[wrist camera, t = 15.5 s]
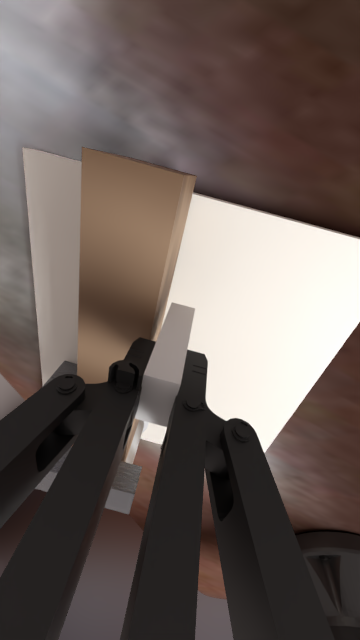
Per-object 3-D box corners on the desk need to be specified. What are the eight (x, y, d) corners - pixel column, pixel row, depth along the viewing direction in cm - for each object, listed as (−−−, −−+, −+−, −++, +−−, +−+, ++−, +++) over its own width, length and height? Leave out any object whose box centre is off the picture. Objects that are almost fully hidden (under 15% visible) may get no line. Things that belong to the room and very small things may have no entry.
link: (140, 440, 28) (112, 533, 21) (96, 428, 28) (52, 516, 21) (206, 178, 14) (193, 179, 7) (121, 155, 14) (21, 132, 7)
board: (251, 457, 30) (252, 471, 29) (52, 402, 30) (43, 413, 29) (394, 246, 17) (411, 253, 15) (37, 149, 17) (19, 147, 15)
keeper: (160, 396, 27) (128, 514, 18) (72, 372, 27) (-7, 476, 18) (166, 377, 25) (134, 494, 16) (72, 351, 25) (-15, 453, 16)
